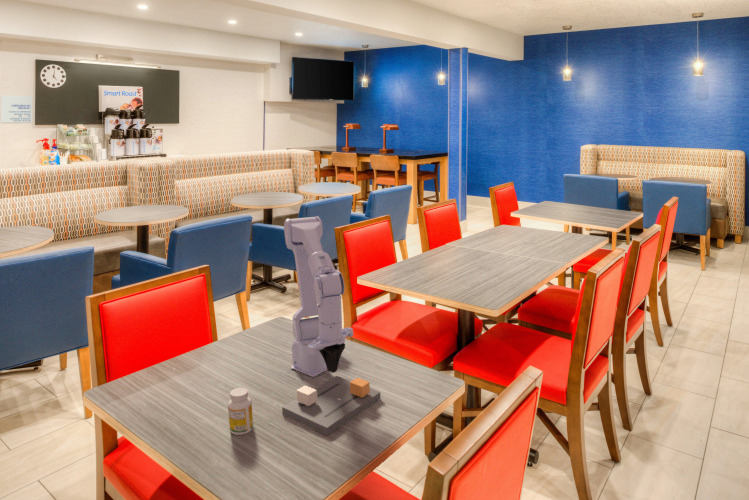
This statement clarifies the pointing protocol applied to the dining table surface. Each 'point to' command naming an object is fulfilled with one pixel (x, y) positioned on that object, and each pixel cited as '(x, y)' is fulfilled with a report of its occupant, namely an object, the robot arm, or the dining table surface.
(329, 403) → the fader console
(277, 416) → the dining table surface
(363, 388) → the block
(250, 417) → the supplement bottle
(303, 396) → the off white fader
